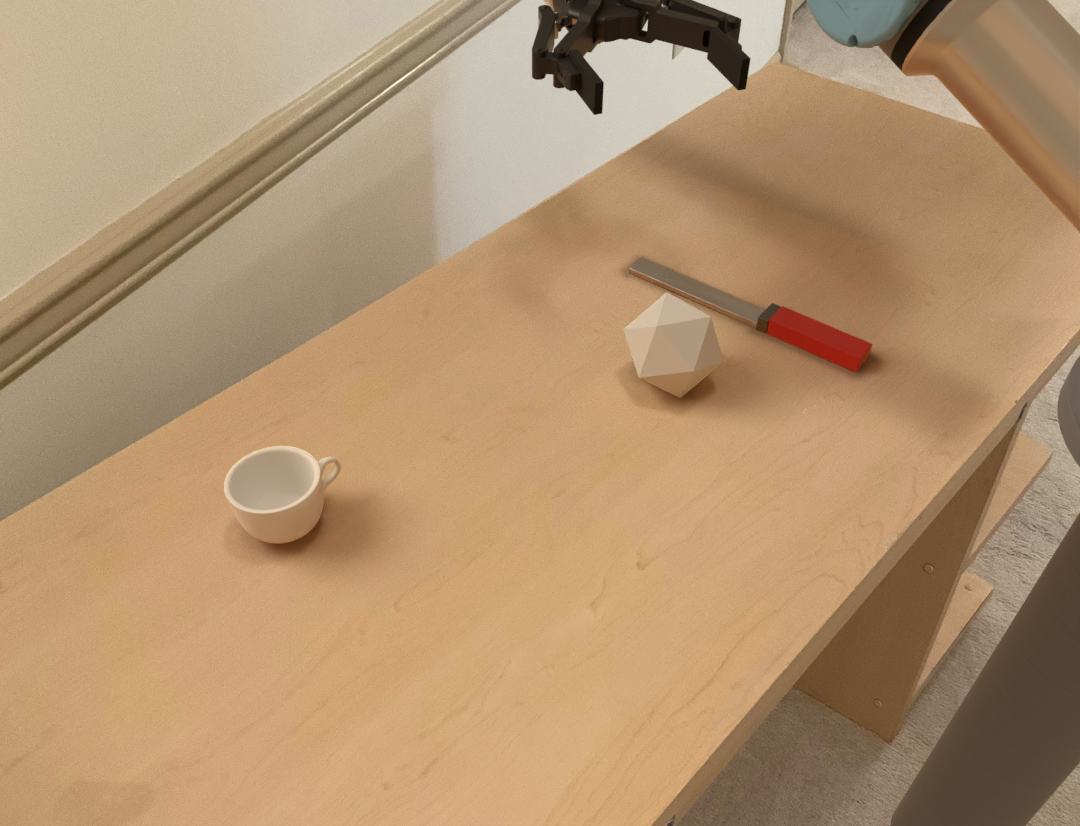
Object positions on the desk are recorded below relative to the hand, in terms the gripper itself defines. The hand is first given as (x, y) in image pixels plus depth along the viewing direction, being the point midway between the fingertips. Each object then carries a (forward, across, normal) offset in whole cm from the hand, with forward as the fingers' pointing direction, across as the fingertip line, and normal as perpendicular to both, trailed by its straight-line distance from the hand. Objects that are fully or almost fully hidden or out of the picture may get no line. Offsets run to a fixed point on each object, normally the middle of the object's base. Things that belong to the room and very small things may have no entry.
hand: (672, 86), depth 87 cm
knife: (+3, -9, -24) cm, 26 cm away
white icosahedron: (+10, +2, -24) cm, 26 cm away
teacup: (+16, +40, -24) cm, 49 cm away
